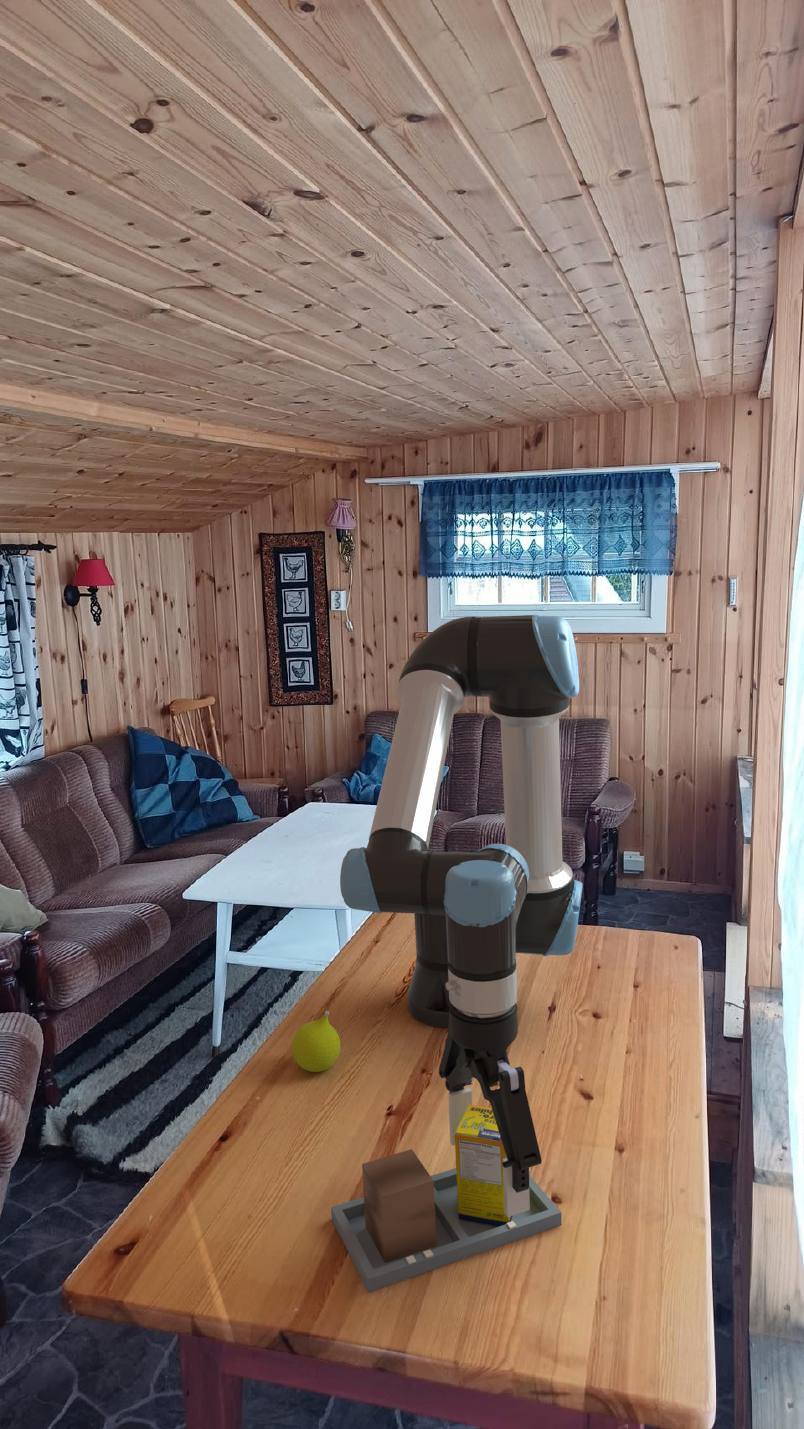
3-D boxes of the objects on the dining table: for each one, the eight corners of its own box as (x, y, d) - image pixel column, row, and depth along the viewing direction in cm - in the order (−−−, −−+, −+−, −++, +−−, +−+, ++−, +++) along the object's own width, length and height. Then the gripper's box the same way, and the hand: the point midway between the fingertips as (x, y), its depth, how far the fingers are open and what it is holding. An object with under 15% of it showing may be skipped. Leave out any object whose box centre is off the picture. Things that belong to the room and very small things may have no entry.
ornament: (351, 1069, 144) (347, 1006, 142) (311, 1087, 139) (306, 1022, 137) (323, 1050, 149) (320, 989, 147) (284, 1067, 145) (279, 1005, 143)
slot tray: (332, 1223, 112) (330, 1205, 111) (509, 1166, 120) (509, 1149, 120) (369, 1296, 101) (368, 1277, 101) (561, 1228, 109) (561, 1210, 109)
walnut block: (365, 1227, 110) (362, 1163, 109) (414, 1211, 112) (411, 1148, 111) (385, 1263, 105) (381, 1196, 103) (436, 1245, 107) (433, 1180, 105)
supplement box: (520, 1194, 114) (518, 1110, 112) (508, 1229, 109) (506, 1141, 107) (470, 1185, 116) (467, 1102, 114) (457, 1219, 111) (454, 1132, 109)
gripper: (407, 964, 118) (414, 1123, 122) (507, 1066, 95) (511, 1257, 99) (463, 952, 120) (468, 1107, 125) (573, 1047, 98) (575, 1234, 102)
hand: (487, 1174), depth 112 cm, fingers open, 13 cm apart
